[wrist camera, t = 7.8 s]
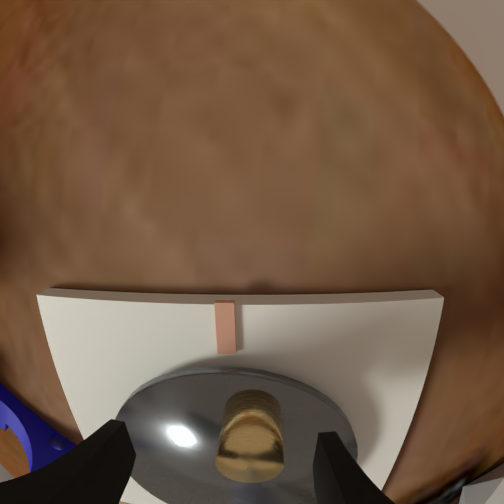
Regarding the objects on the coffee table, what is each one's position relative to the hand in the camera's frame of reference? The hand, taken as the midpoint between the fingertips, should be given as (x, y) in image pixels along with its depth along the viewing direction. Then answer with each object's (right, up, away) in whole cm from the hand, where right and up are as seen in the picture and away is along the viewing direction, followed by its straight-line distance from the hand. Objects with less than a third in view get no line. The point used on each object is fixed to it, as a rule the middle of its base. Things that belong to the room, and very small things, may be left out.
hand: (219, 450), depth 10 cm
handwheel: (0, -4, +4) cm, 6 cm away
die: (+24, -16, +8) cm, 30 cm away
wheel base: (0, -3, +6) cm, 7 cm away
